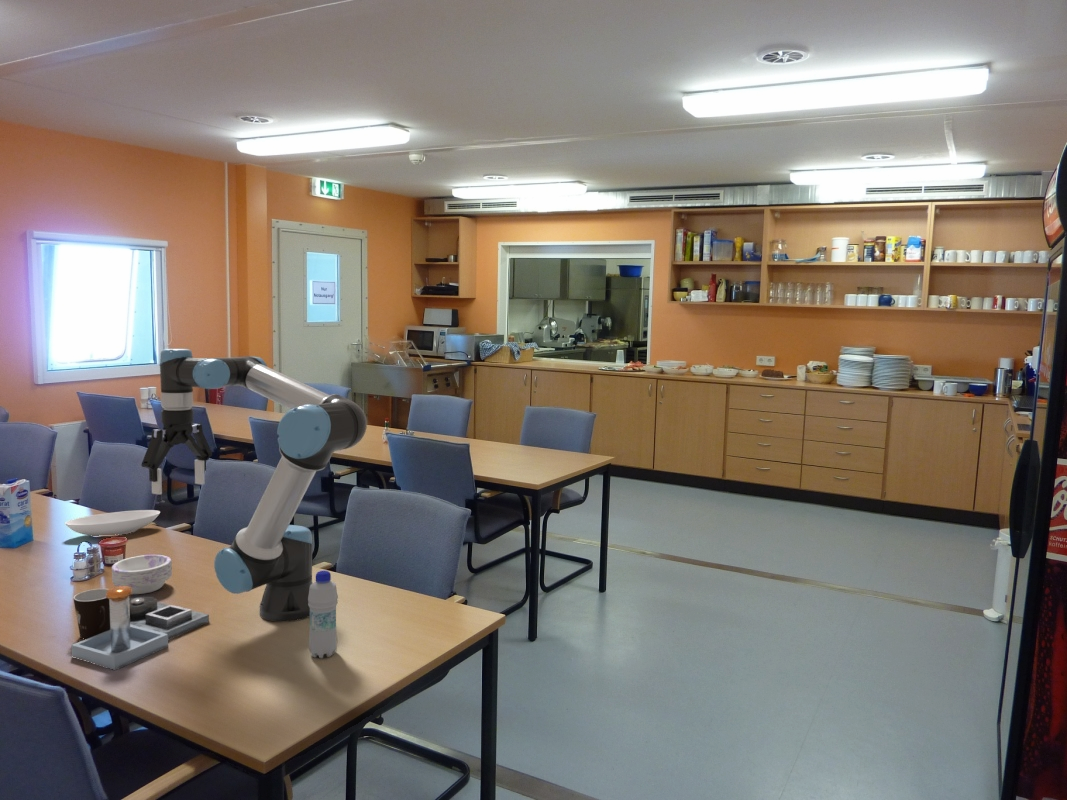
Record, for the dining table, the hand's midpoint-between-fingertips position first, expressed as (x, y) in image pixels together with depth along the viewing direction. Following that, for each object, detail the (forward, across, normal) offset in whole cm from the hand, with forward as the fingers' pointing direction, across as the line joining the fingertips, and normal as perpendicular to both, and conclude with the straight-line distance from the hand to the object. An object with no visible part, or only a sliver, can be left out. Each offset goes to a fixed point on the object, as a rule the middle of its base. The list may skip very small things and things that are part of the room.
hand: (179, 488), depth 199 cm
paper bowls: (+33, -6, -22) cm, 40 cm away
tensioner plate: (+33, +10, +2) cm, 34 cm away
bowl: (+33, -40, -78) cm, 94 cm away
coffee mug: (+33, +22, -4) cm, 40 cm away
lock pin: (+32, +25, +9) cm, 42 cm away
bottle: (+33, +5, +51) cm, 61 cm away
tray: (+33, +25, +9) cm, 42 cm away
